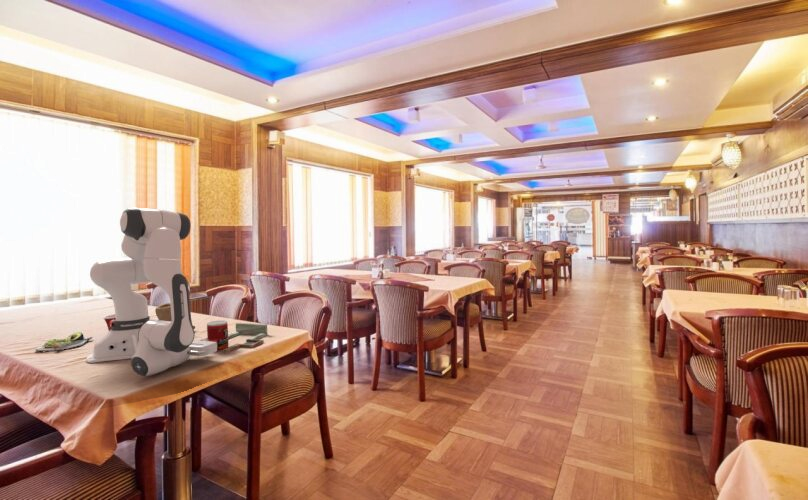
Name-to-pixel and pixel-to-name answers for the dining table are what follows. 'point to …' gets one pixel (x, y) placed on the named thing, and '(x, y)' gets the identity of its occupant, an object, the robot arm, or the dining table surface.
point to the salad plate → (65, 342)
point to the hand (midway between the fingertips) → (205, 341)
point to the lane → (248, 329)
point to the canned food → (218, 333)
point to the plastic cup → (108, 319)
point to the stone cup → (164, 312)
